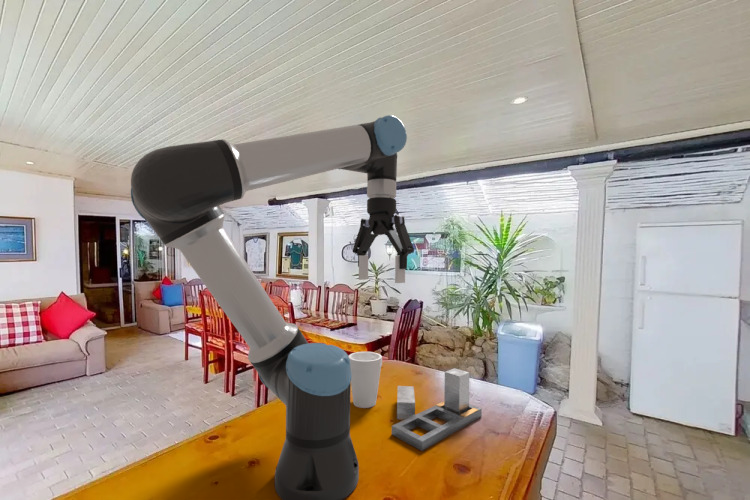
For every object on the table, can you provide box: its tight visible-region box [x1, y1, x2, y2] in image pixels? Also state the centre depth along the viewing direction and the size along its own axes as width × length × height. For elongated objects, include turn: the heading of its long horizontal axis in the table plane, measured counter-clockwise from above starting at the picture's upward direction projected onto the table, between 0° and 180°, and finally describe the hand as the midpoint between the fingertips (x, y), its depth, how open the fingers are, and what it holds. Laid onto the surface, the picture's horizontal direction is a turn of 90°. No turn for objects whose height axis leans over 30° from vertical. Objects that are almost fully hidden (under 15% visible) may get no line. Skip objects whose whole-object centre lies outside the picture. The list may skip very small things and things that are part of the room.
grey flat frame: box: [391, 401, 482, 452], centre depth 84 cm, size 24×9×2 cm, turn 133°
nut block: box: [396, 385, 416, 421], centre depth 92 cm, size 11×4×4 cm, turn 175°
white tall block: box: [444, 368, 470, 415], centre depth 89 cm, size 4×4×11 cm
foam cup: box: [348, 351, 383, 409], centre depth 96 cm, size 10×9×13 cm
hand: (380, 281), depth 88 cm, fingers open, 13 cm apart
